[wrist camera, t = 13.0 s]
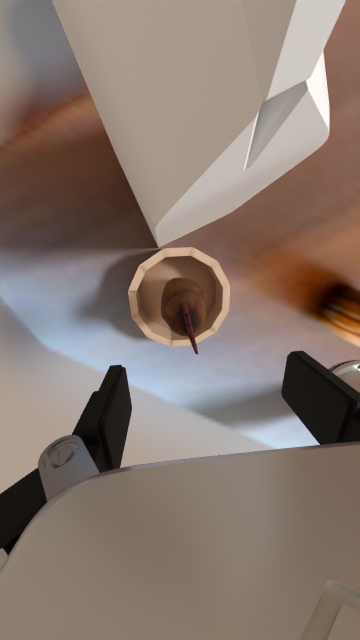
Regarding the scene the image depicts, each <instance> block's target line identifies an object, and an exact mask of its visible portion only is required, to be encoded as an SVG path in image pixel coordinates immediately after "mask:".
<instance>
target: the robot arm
mask: <svg viewBox="0 0 360 640" xmlns="http://www.w3.org/2000/svg"><path fill="white" fill-rule="evenodd" d="M281 393H282V397H283V399H284V400H285V401H286V402H287V404H288V405H289V406H290V407H291V409H292V410H293V411H294V412H295V414H296V415H297V416H298V417H299V419H300V420H301V421H302V423H303V424H304V425H305V426H306V428H307V429H308V430H309V431H310V433H311V434H312V435H313V436H314V438H315V439H316V440H317V441H318V443H319V444H320V445H315V446H304V447H294V448H284V449H275V450H265V451H255V452H247V453H236V454H227V455H218V456H209V457H200V458H191V459H183V460H173V461H165V462H158V463H150V464H142V465H135V466H129V467H124V468H120V465H121V460H122V455H123V450H124V446H125V441H126V436H127V431H128V426H129V421H130V417H131V412H132V404H131V399H130V392H129V386H128V380H127V374H126V369H125V367H122V366H121V365H112V366H110V367H109V369H108V371H107V374H106V376H105V378H104V380H103V382H102V384H101V387H100V388H99V391H95V392H93V394H92V395H91V397H90V399H89V401H88V403H87V405H86V407H85V409H84V411H83V413H82V415H81V417H80V419H79V421H78V423H77V425H76V427H75V429H74V431H73V433H72V435H68V436H64V437H61V438H60V439H57V440H56V441H54V442H53V443H51V444H50V445H49V446H48V447H47V448H46V449H45V450H44V451H43V453H42V454H41V456H40V458H39V461H38V468H37V469H35V470H34V471H32V472H31V473H30V474H28V475H27V476H25V477H24V478H22V479H21V480H19V481H18V482H17V483H15V484H14V485H12V486H11V487H10V488H8V489H7V490H5V491H4V492H2V493H1V494H0V640H360V361H352V362H348V363H345V364H343V365H341V366H339V367H337V368H336V369H334V370H333V371H332V372H331V371H330V370H328V369H327V368H325V367H324V366H323V365H321V364H320V363H319V362H317V361H316V360H315V359H313V358H312V357H311V356H309V355H308V354H306V353H305V352H304V351H293V352H291V353H290V354H289V355H288V356H287V362H286V368H285V374H284V379H283V385H282V391H281Z"/></svg>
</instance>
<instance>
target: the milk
mask: <svg viewBox="0 0 360 640" xmlns="http://www.w3.org/2000/svg"><path fill="white" fill-rule="evenodd" d="M345 1H346V0H52V2H53V5H54V7H55V9H56V11H57V14H58V17H59V19H60V21H61V24H62V26H63V28H64V31H65V33H66V36H67V38H68V40H69V43H70V45H71V48H72V50H73V53H74V55H75V57H76V60H77V62H78V65H79V67H80V69H81V72H82V74H83V77H84V79H85V81H86V84H87V86H88V89H89V91H90V94H91V96H92V98H93V101H94V103H95V106H96V108H97V110H98V113H99V115H100V118H101V120H102V122H103V125H104V127H105V130H106V132H107V134H108V137H109V139H110V142H111V144H112V147H113V149H114V151H115V154H116V156H117V158H118V160H119V163H120V165H121V167H122V169H123V171H124V174H125V176H126V178H127V180H128V182H129V184H130V187H131V189H132V191H133V193H134V195H135V198H136V200H137V202H138V204H139V206H140V208H141V211H142V213H143V215H144V217H145V219H146V222H147V224H148V226H149V228H150V230H151V232H152V235H153V237H154V239H155V241H156V243H157V246H158V248H159V247H161V246H163V245H165V244H167V243H169V242H171V241H173V240H176V239H178V238H180V237H182V236H184V235H186V234H188V233H190V232H192V231H194V230H196V229H198V228H200V227H202V226H204V225H207V224H209V223H211V222H213V221H215V220H217V219H219V218H221V217H223V216H225V215H227V214H229V213H231V212H232V211H234V210H235V209H237V208H238V207H239V206H241V205H242V204H243V203H245V202H246V201H247V200H249V199H250V198H252V197H253V196H254V195H256V194H257V193H258V192H260V191H261V190H263V189H264V188H265V187H267V186H268V185H269V184H271V183H272V182H273V181H275V180H276V179H278V178H279V177H280V176H282V175H283V174H284V173H286V172H287V171H289V170H290V169H291V168H293V167H294V166H295V165H297V164H298V163H300V162H301V161H302V160H304V159H305V158H306V157H308V156H309V155H310V154H312V153H313V152H315V151H316V150H317V149H318V148H319V147H321V146H322V145H323V144H324V143H325V141H326V140H327V139H328V136H329V99H328V90H327V81H326V72H325V63H324V54H323V49H324V47H325V45H326V43H327V40H328V38H329V36H330V34H331V32H332V29H333V27H334V25H335V23H336V21H337V18H338V16H339V14H340V12H341V10H342V8H343V5H344V3H345Z"/></svg>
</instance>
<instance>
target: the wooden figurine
mask: <svg viewBox="0 0 360 640" xmlns="http://www.w3.org/2000/svg"><path fill="white" fill-rule="evenodd" d="M161 315H162V318H163V319H164V321H165V322H166V323H167V324H168V326H169V327H170V329H171V330H172V331H173V332H175V333H176V334H178V335H180V336H185V337H189V340H190V342H191V344H192V346H193V349H194V351H195V353H196V354H198V351H197V346H196V341H195V335H194V334H196V333H197V332H199V331H200V330H201V328H202V327H203V326H204V324H205V321H206V308H205V305H204V291H203V289H202V288H201V286H200V285H199V284H198V283H197V282H195V281H193V280H191V279H188V278H182V277H181V278H173V279H171V280H170V281H168V282H167V283H166V284H165V287H164V289H163V293H162V299H161Z"/></svg>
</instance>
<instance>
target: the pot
mask: <svg viewBox="0 0 360 640" xmlns="http://www.w3.org/2000/svg"><path fill="white" fill-rule="evenodd" d="M181 277H182V278H188V279H191V280H193V281H195V282H197V283H198V284H199V285H200V286H201V288H202V289H203V291H204V305H205V308H206V321H205V324H204V326H203V327H202V328H201V330H200V331H199V332H197V333H196V334H194V335H195V341H196V344H197V343H199V342H200V341H202V340H203V339H205V338H207V337H208V336H210V335H212V334H213V333H215V332H216V331H217V329H218V328H219V326H220V324H221V323H222V321H223V320H224V318H225V316H226V315H227V313H228V311H229V299H230V284H229V282H228V280H227V278H226V276H225V274H224V273H223V271H222V269H221V267H220V265H219V263H218V261H216V260H214V259H213V258H211V257H209V256H207V255H205V254H204V253H202V252H200V251H198V250H197V249H195V248H193V247H187V248H165V249H162V250H161V251H159V252H158V253H156V254H155V255H153V256H152V257H150V258H149V259H148V260H146V261H145V262H143V263H142V264H140V265H139V267H138V269H137V271H136V274H135V276H134V278H133V281H132V283H131V285H130V288H129V290H128V295H129V302H130V309H131V316H132V318H133V320H134V321H135V322H136V323H137V325H138V326H139V327H140V329H141V330H142V331H143V332H144V334H145V335H146V336H147V337H148V338H151V339H153V340H155V341H158V342H160V343H162V344H165V345H167V346H170V347H173V346H186V345H192V344H191V342H190V340H189V337H185V336H180V335H178V334H176V333H175V332H173V331H172V330H171V329H170V327H169V326H168V324H167V323H166V322H165V321H164V319H163V318H162V315H161V299H162V293H163V289H164V287H165V284H166V283H167V282H168V281H170V280H171V279H173V278H181Z"/></svg>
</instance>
